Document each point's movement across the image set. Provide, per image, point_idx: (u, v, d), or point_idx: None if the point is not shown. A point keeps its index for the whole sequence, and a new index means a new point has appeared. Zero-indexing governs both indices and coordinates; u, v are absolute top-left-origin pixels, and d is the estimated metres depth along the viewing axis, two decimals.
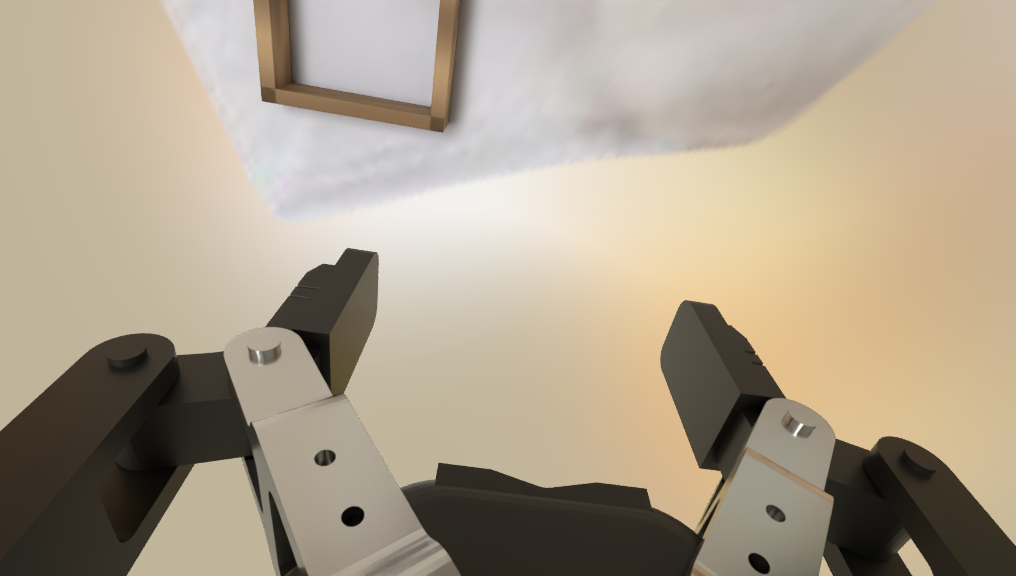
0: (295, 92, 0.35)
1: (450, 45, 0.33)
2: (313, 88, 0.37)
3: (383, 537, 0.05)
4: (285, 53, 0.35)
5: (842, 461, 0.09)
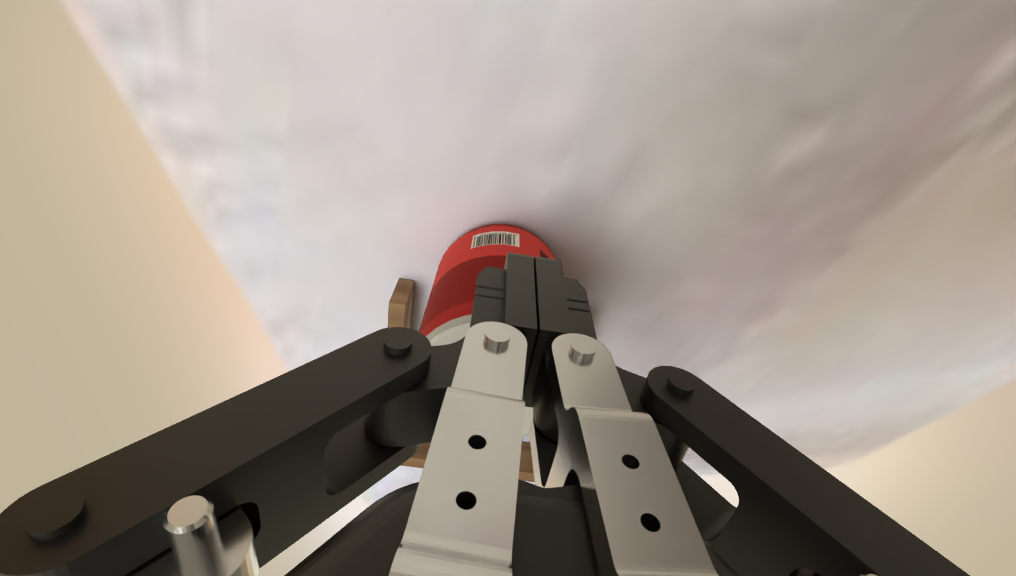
0: (413, 457, 0.38)
1: None
2: None
3: (475, 533, 0.05)
4: None
5: None
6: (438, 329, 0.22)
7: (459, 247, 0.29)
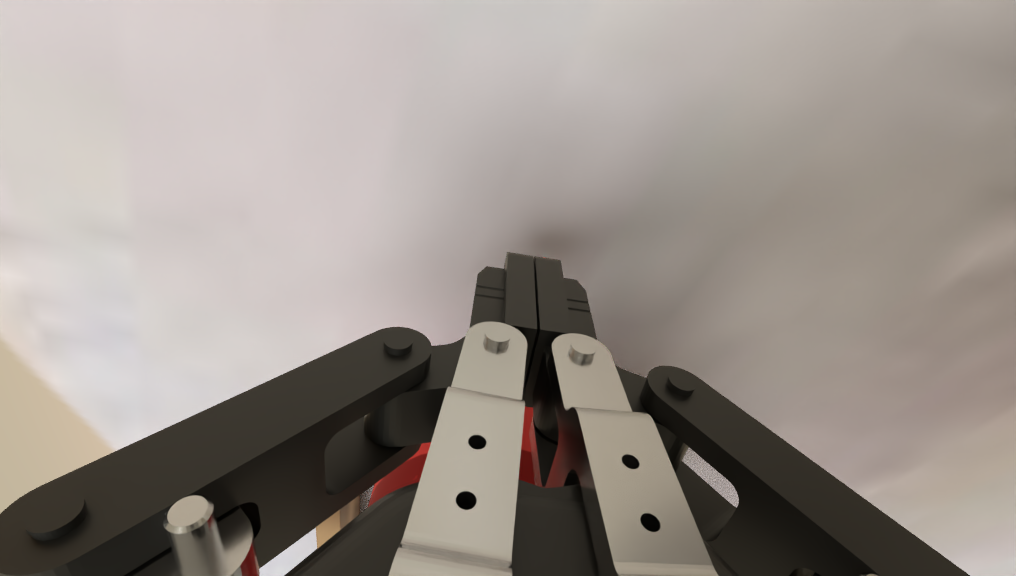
0: None
1: None
2: None
3: (475, 533, 0.05)
4: None
5: None
6: None
7: None
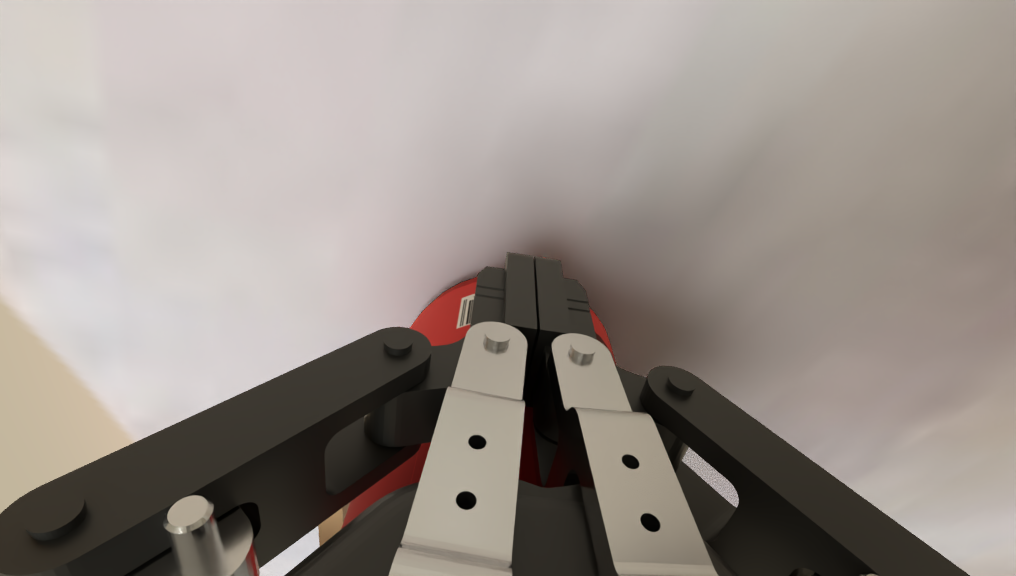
0: None
1: None
2: None
3: (475, 532, 0.05)
4: None
5: None
6: None
7: (435, 319, 0.16)
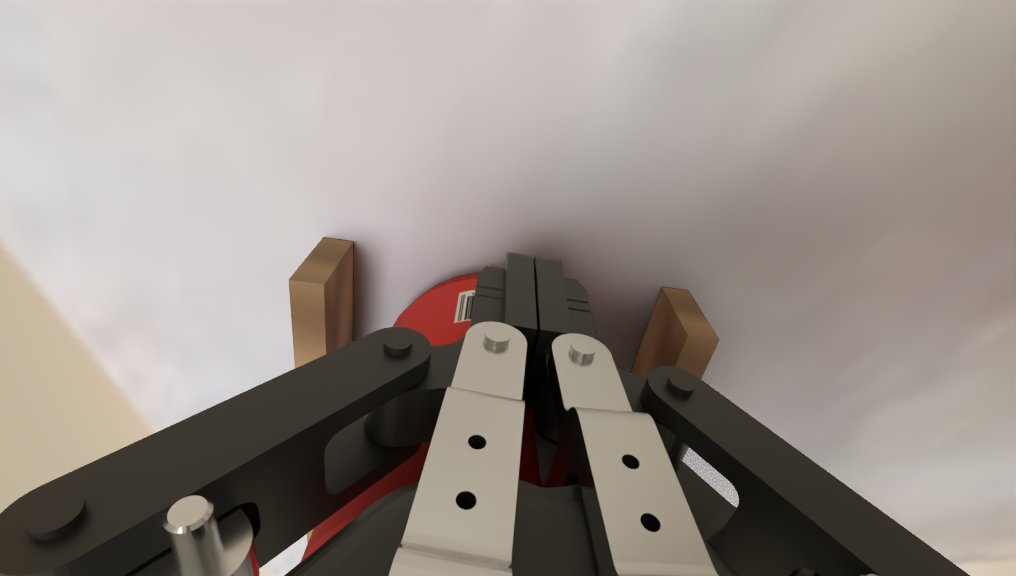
0: None
1: None
2: None
3: (475, 532, 0.05)
4: None
5: None
6: None
7: (430, 311, 0.15)
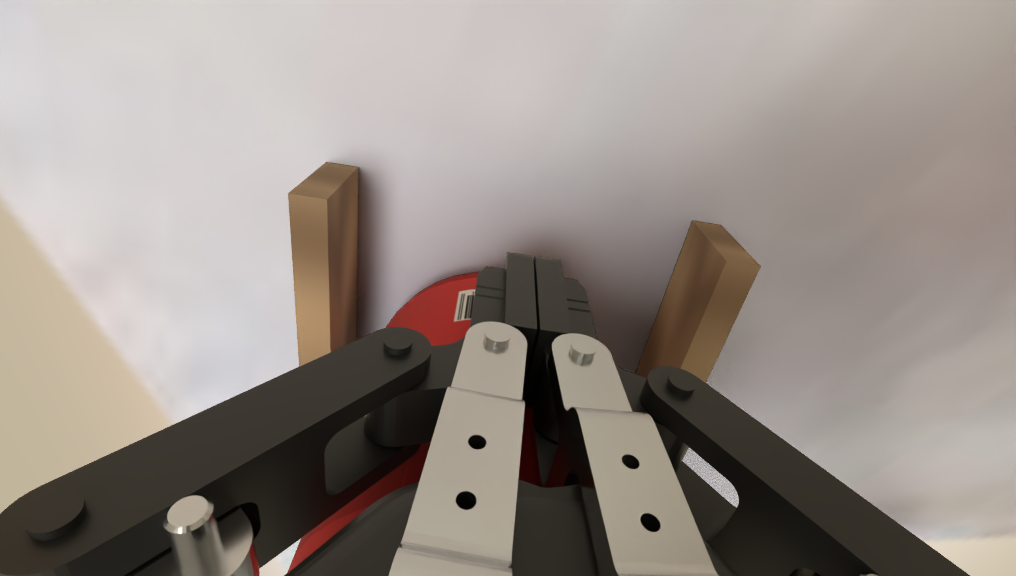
0: None
1: None
2: None
3: (475, 533, 0.05)
4: None
5: None
6: None
7: (429, 309, 0.15)
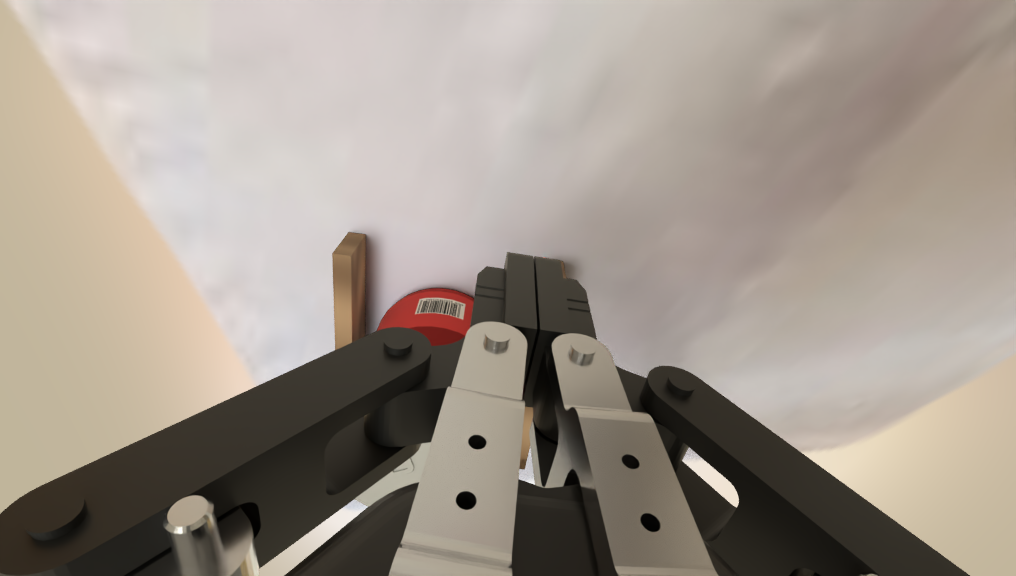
0: None
1: None
2: None
3: (476, 533, 0.06)
4: None
5: None
6: None
7: (403, 308, 0.29)
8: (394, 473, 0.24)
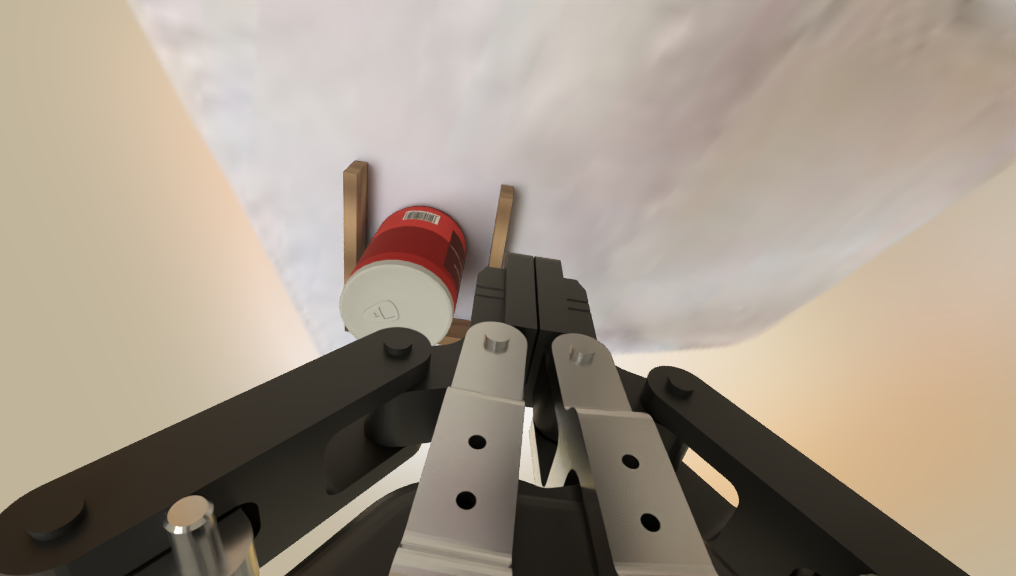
0: None
1: None
2: None
3: (475, 532, 0.05)
4: None
5: None
6: (366, 266, 0.32)
7: (394, 217, 0.39)
8: (385, 320, 0.35)
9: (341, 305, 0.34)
